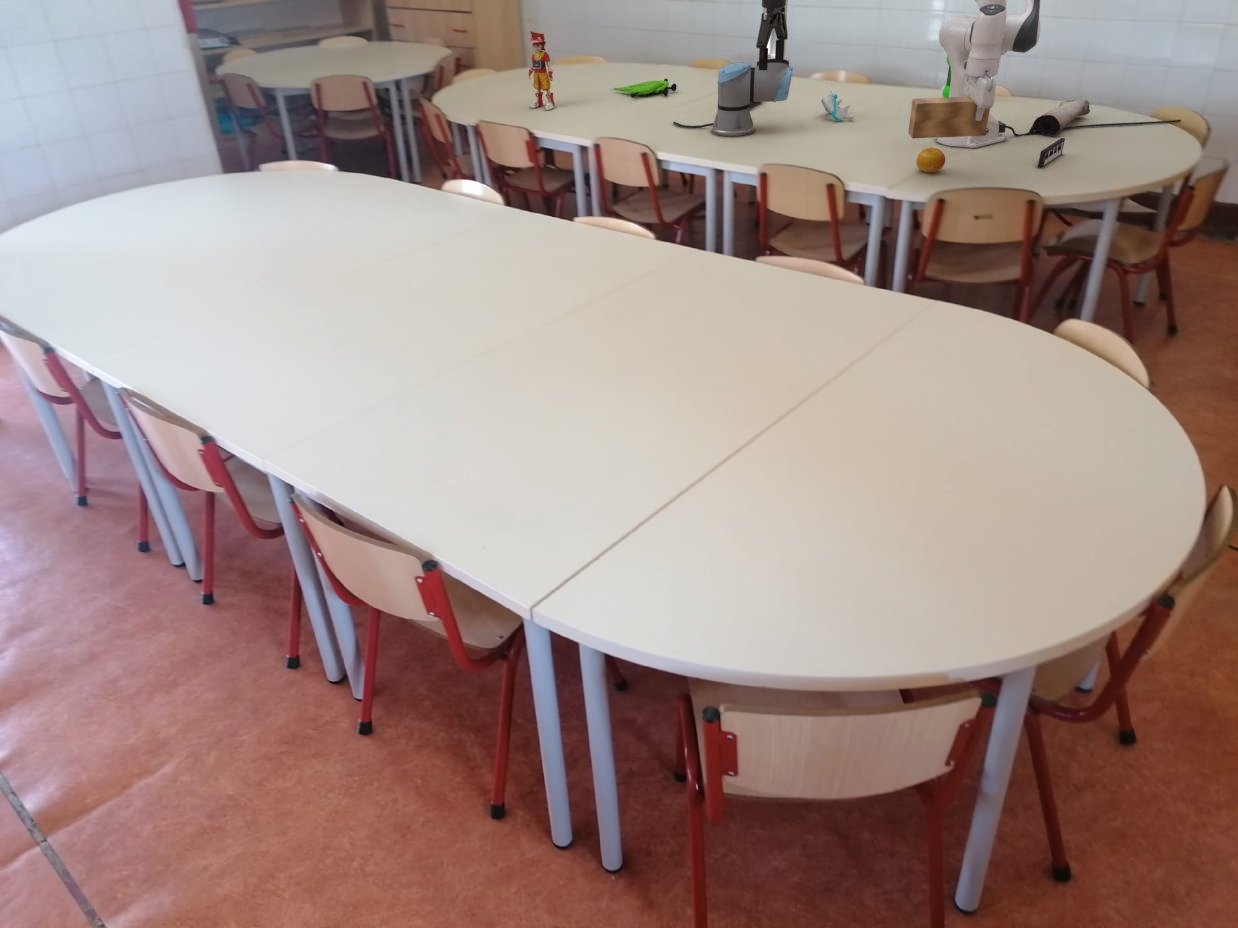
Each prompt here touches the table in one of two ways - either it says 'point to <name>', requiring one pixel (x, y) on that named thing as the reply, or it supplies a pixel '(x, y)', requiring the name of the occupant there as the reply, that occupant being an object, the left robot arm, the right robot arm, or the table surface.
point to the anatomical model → (835, 107)
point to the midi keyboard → (1051, 152)
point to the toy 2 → (648, 88)
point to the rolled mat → (1060, 117)
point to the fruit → (930, 160)
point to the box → (946, 118)
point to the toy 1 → (541, 71)
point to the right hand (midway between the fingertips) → (974, 117)
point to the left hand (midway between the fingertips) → (771, 66)
